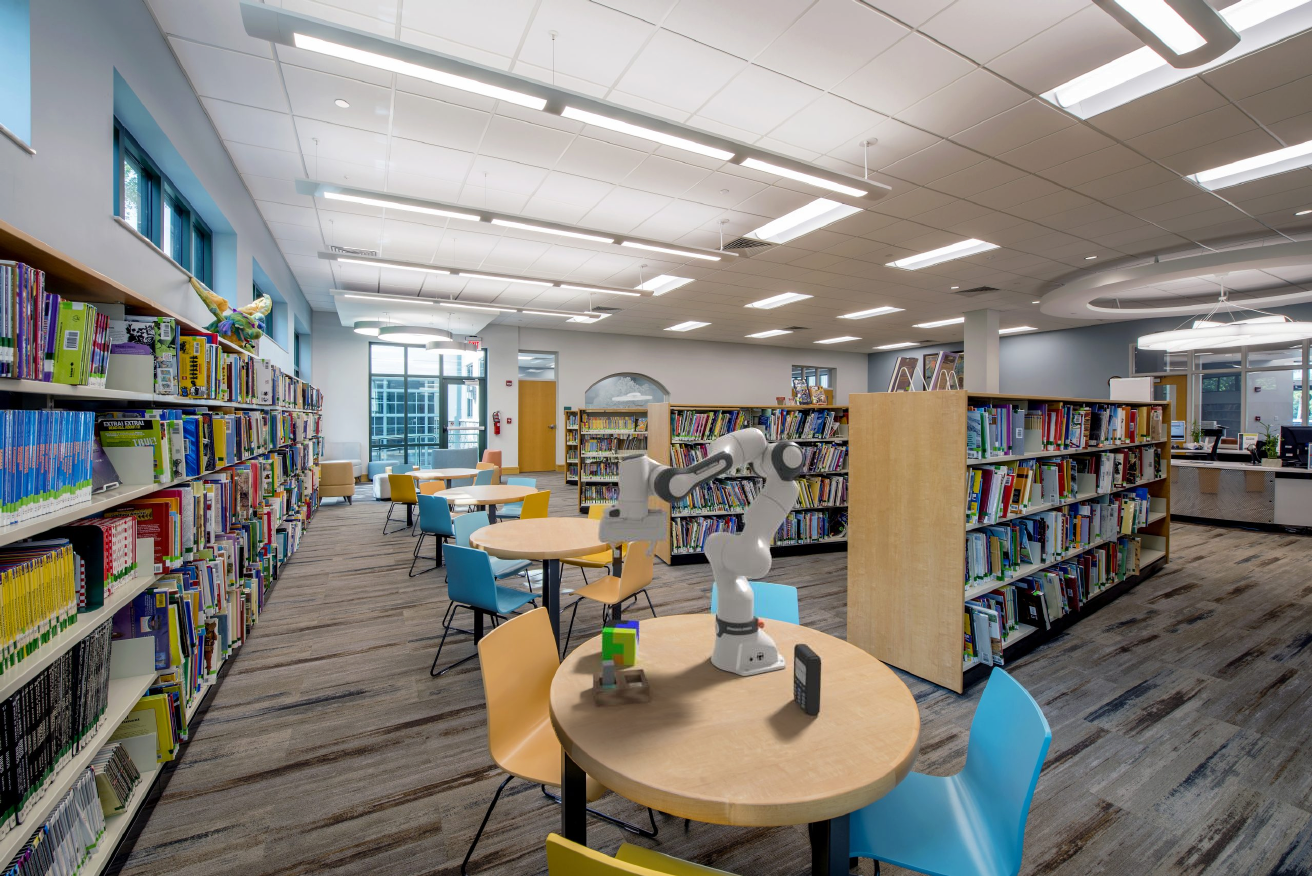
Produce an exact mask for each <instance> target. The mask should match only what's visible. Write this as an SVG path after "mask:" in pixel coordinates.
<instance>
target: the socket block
mask: <svg viewBox="0 0 1312 876" xmlns="http://www.w3.org/2000/svg"><path fill="white" fill-rule="evenodd" d="M645 673H646V672H645V671H644V669H643V668H641V669H630V670H629V669H628V670H617V671H616V670H614V685H602V672H593V673H592V689H593V694H594V700H595V701H594V702H595V707H597V708H598V707H607V706H609V707H610V706H617V705H618V706H619V705H628V704H629V705H630V704H638V703H648V702H650V688H651V687H650V684H649V682H648V679H647V675H646V674H645Z"/></svg>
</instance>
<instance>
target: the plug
mask: <svg viewBox="0 0 1312 876" xmlns="http://www.w3.org/2000/svg"><path fill="white" fill-rule="evenodd" d="M615 666H616V665H614V661H613V660H607V661H602V660H601V673H602V685H614V671H615V669H616V668H615Z"/></svg>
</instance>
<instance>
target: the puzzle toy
mask: <svg viewBox="0 0 1312 876" xmlns="http://www.w3.org/2000/svg"><path fill="white" fill-rule="evenodd" d="M639 652H640V620H629V619H628V620H627V619H626V620H625V619H624V620H623V619H607V622H606V623H605V625H604V627H603V629H602V632H601V662H602V661H607V660H613V661H614V665H615V666H629V667H631V666H633V667H635V665H636V662H637V658H638V656H639Z"/></svg>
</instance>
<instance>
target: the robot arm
mask: <svg viewBox="0 0 1312 876" xmlns="http://www.w3.org/2000/svg"><path fill="white" fill-rule="evenodd" d="M706 454H707V457H705V458H703V459H702V460H700V461H696V462H695V463H693V464H691V465H689V466H686V467H676V466H675V467H672V466H669V465H665V464H663V463H660V462H657V461H655V460H653V458H652V459H651V458H650V457H648V456H647V455H646V454H644V453H634V454H629V455H626V456H624V457H623V458H622V459H621V460H620V464H619V469H618V483H617V484H618V488H619V489H618V490H619V495H618V499H617V500H618V501H617V503H614V504H611V505H608V506H605V507H603V509H602V515H603V516H601V518H600V521H599V526H598V533H597V536H598V540H599V541H600V543H603V544H604V543H605V544H606V543H607V544H608V543H609V544H610V547H611V548H612V550H613V558H620V553H621V552H620V550H619V549H616V547H615V546H617V543H630V542H631V543H633V542H649V544H650V545H649V546H648V548H645V556H646V557H652V551H653V549H654V548H655V546H656V542H663V541H666V540H667V538H668V529H667V528H668V526H667V522H668V520H669V517H668V516H669V515H668V512H667V511H666V510H664V509H663V508H657V509H655V508H649V497H650V496H654V497H657V498H659V499H661V500H662V501H664V502H666V503H668V504H679V503H682V502H683V501H684V500H686V498H688V497H689V495H691V494H692V493H693V491H694V490H696V489H697V488H698V487H700V486H702V485H704V484H706V483H708V482H710V481H712V480H714V479H716V478H717V477H720V476H721V475H723V474H726V473H728V472H731V471H733V470H736V469H738V468H741V467H743V466H744V465H748V467H749V469H750V470H751V472H752V473H753V475H755V476H756V477H758V478H762V479H765V480H766V481H765V484H764V487H763V488H762V490H761V491H760V492H759V493H758V494H757V496H755V498H754V500H753V501H752V502H751V504H750V505H749V506H748V508H747V509H746V510H745V512H744V514H743V521H744V527H743V530H742V531H741V534H739V535H737V534H734V533H730V532H725V531H719V532H718V531H717V532H713V533H711V534H709V535H708V537H707V538H706V540H705V542H704V546H703V547H704V548H703V551H704V555H705V556H706V558H707V560H708V562H709V564H710V566H711V569H712V572H713V573H712V574H713V577H714V582H715V587H716V601H717V602H716V607H717V608H716V614H715V620H714V633H715V638H714V639H715V640H714V646H713V652H712V654H711V657H710V662H711V663H712V665H714V666H715V667H716V668H717V669H720V670H723V671H726V672H730V673H734V674H737V675H740V676H742V677H747V676H753V675H757V674H762V673H767V672H773V671H777V670H783V669H785V668H786V660H785V658H784V657H783V655H782V654H780V653H779V652H778V647H777V644H776V642H775V641H774V640H773V638H772V637H771V636H770V635H768V634H767V632H764V631H763V630H762V629H763V628H765V626H766V624H765V622H764V621H763V620H762V619H759V617H757V616H755V615H754V602H755V601H754V600H755V599H754V596H755V595H754V591H753V590H754V589H752V587H751V585H750V583H749V581H748V579H755V580H757V579H761V578H763V577H765V576H766V575H767V574H768V573H769V571H770V569H771V567H772V561H773V560H772V555H771V551H770V549H771V544H772V541H773V538H774V536H775V534H776V532H777V531H778V529H779V528H780V527H781V525H782V524H783V522H784V521H785V519H786V518H787V516H788V515H789V514H790V512H791V510H792V509H793V508H794V505H795V504H796V501H797V499H798V497H799V495H800V488H799V485H798V484H797V482H796V481H795V480H797V479H798V478H799V477H800V475H801V470H802V468H803V466H804V464H805V453H804V451H803V449H802V447H801V446H800V445H799V444H797V443H796V442H793V441H787V440H782V441H779V442H773V443H769V442H768V440H766V437H765V435H764V433H763V432H762V431H761V430H760V429H758V428H756V427H747V428H743V429H739V430H735V431H732V432H729V433H727V434H724V435H722V436H720V437H718V438H717V439H715V440H713V441H712V442H711V443H710V444H709V445H708V447H707V452H706Z"/></svg>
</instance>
